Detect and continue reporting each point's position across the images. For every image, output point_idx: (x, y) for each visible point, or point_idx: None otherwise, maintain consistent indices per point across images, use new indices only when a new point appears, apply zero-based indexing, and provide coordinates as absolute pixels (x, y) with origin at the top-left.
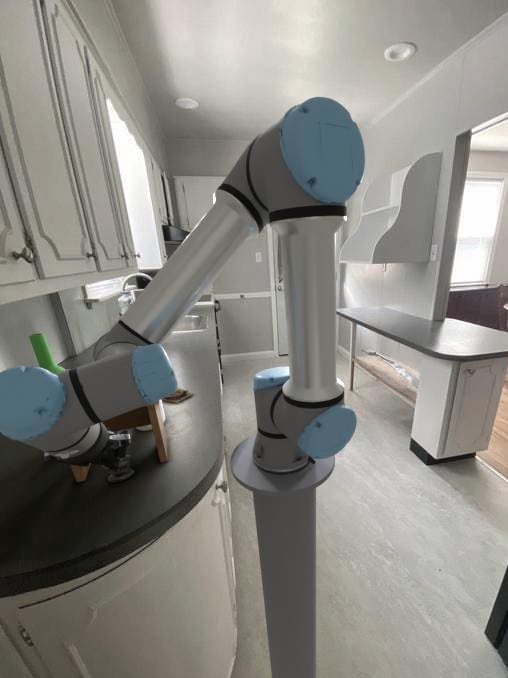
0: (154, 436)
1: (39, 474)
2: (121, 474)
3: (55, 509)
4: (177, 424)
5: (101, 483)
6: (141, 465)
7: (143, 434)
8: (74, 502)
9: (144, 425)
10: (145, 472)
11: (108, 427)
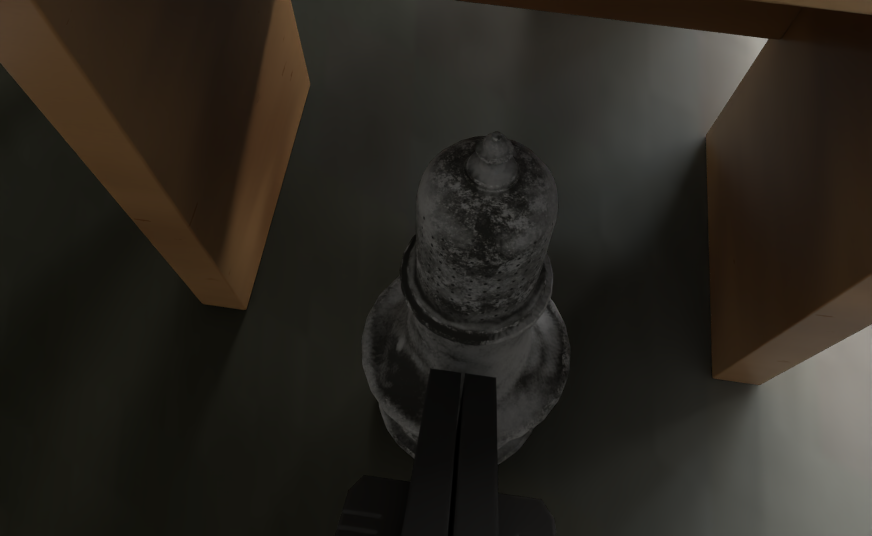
0: (837, 295)
1: (30, 108)
2: None
3: (61, 524)
4: None
5: (335, 398)
6: (583, 337)
7: None
8: (169, 516)
9: (691, 26)
10: (610, 436)
11: (501, 142)
